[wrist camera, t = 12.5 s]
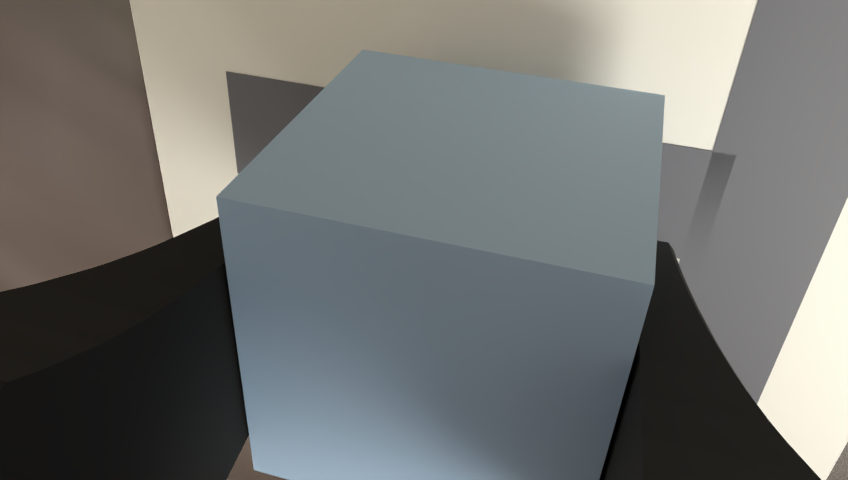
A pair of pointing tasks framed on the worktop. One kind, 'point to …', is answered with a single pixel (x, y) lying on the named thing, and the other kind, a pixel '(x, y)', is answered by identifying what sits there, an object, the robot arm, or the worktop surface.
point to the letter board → (600, 65)
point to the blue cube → (443, 273)
